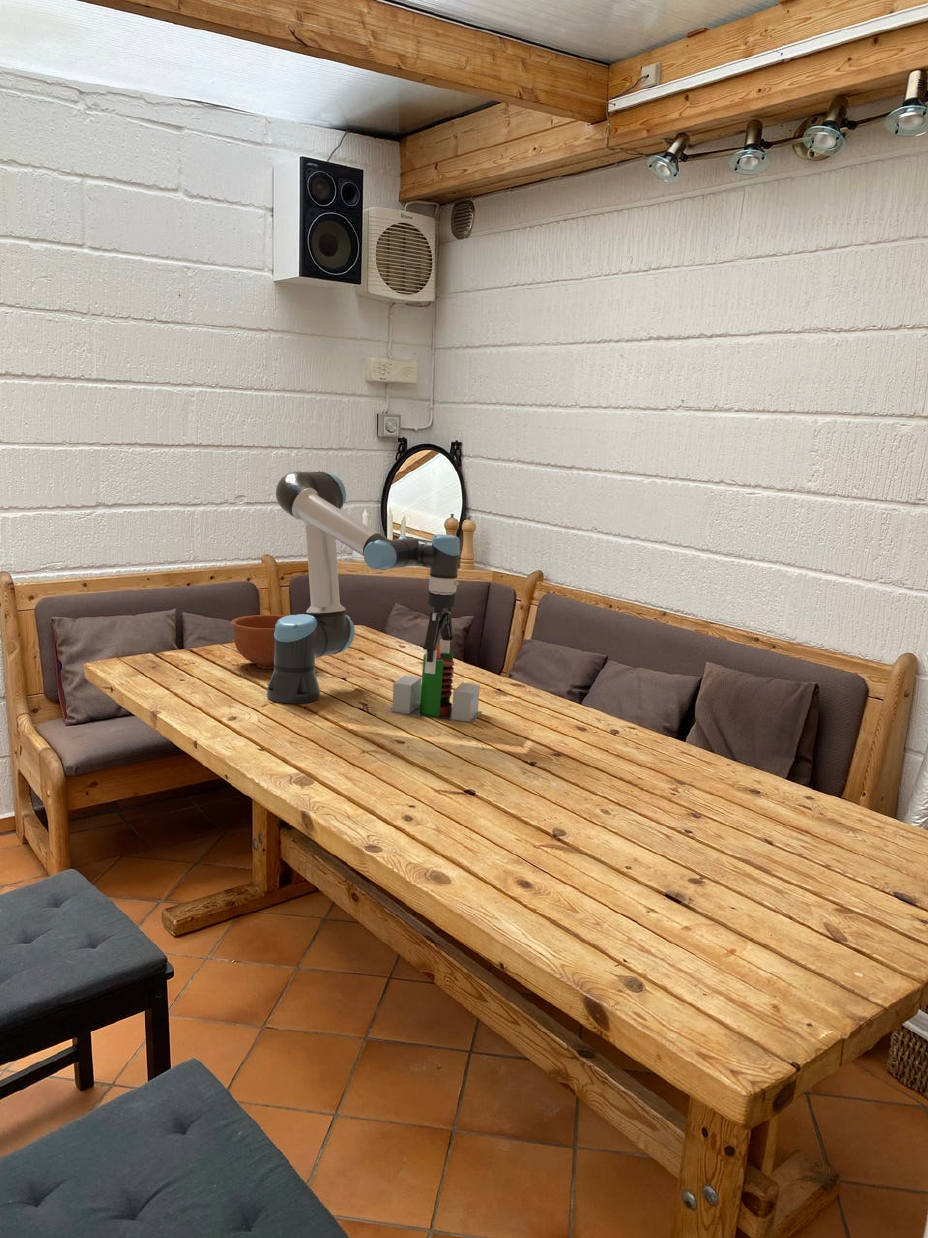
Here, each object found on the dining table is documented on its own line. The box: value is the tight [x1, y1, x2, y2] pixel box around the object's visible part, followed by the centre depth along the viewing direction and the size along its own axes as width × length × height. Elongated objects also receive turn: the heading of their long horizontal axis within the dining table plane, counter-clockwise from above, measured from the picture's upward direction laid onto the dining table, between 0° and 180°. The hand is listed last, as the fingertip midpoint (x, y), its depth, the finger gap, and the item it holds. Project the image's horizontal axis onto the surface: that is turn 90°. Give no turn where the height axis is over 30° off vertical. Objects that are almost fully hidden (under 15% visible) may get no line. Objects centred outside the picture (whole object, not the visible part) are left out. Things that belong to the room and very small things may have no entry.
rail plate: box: [387, 705, 483, 724], centre depth 265 cm, size 24×12×2 cm, turn 76°
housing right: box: [452, 681, 481, 721], centre depth 262 cm, size 5×10×8 cm, turn 166°
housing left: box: [391, 675, 422, 714], centre depth 266 cm, size 5×10×8 cm, turn 166°
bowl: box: [230, 614, 286, 670], centre depth 309 cm, size 25×25×15 cm
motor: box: [420, 641, 455, 716], centre depth 264 cm, size 10×9×20 cm
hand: (436, 668), depth 263 cm, fingers open, 13 cm apart
